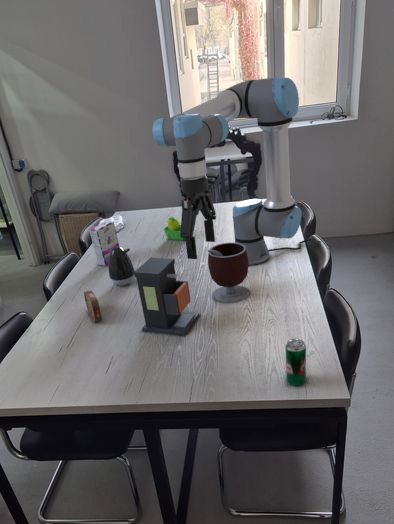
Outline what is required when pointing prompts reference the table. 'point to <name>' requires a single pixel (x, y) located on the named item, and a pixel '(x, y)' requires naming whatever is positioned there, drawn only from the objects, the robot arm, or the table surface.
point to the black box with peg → (162, 298)
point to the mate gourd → (228, 271)
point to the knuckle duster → (115, 222)
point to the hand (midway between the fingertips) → (201, 249)
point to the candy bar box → (104, 241)
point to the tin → (92, 305)
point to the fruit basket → (173, 229)
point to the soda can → (295, 362)
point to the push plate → (182, 297)
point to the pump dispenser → (120, 266)
